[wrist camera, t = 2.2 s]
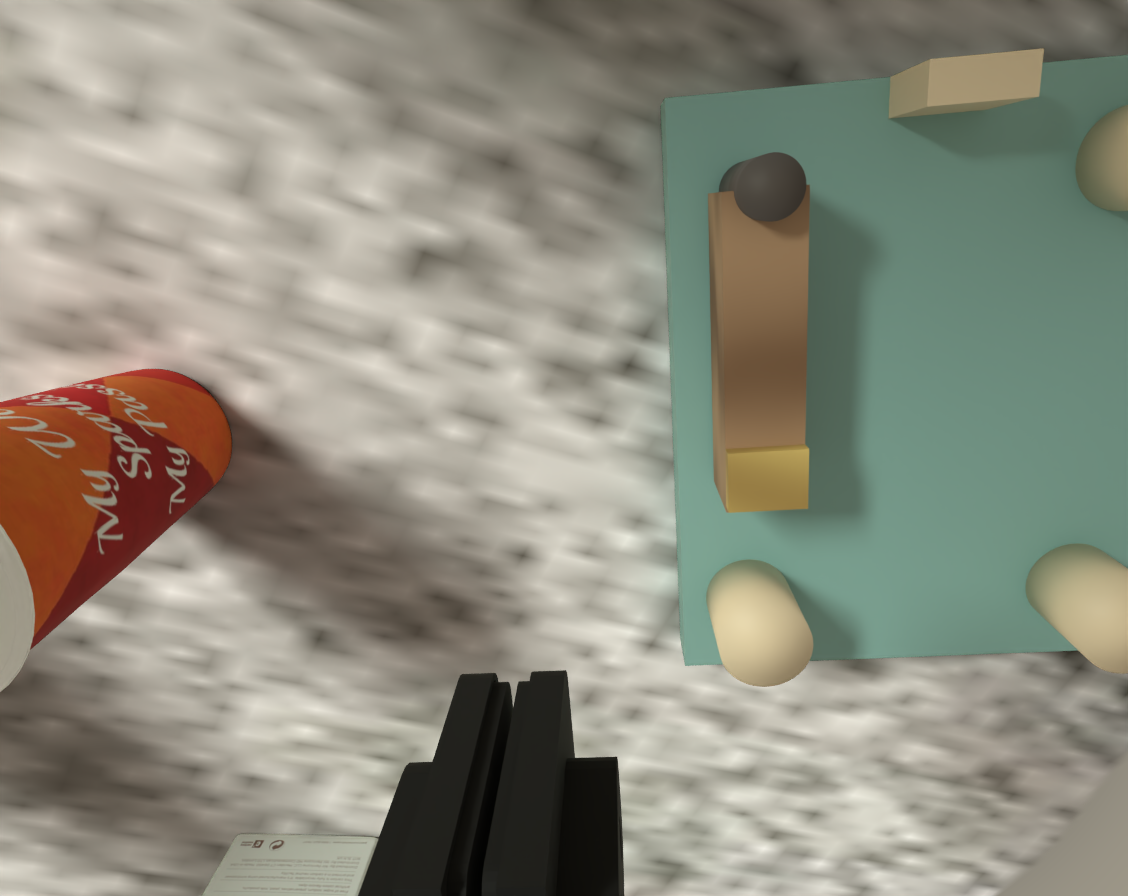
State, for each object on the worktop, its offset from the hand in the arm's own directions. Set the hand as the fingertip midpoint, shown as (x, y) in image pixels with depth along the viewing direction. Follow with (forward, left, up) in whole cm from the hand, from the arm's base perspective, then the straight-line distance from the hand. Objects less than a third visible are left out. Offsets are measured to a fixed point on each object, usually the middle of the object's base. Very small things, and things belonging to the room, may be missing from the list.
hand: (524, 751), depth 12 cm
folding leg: (-4, +6, -16) cm, 18 cm away
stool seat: (-1, +12, -19) cm, 22 cm away
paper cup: (-1, -17, -19) cm, 25 cm away
